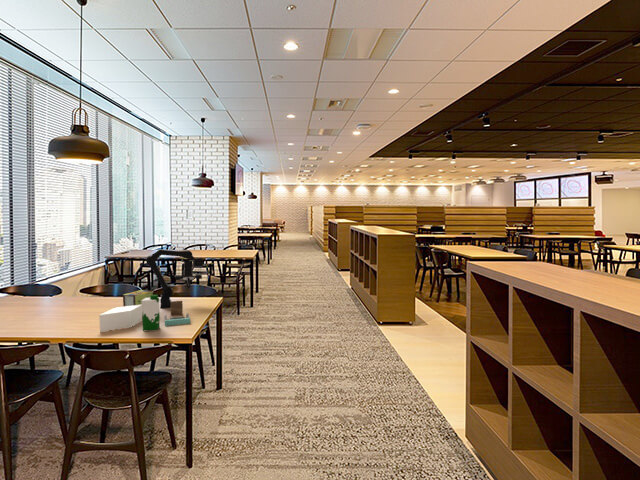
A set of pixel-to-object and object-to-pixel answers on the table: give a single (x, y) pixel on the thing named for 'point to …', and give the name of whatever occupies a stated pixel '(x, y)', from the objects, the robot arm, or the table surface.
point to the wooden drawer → (176, 310)
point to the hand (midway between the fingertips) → (188, 288)
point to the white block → (120, 317)
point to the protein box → (135, 297)
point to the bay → (177, 321)
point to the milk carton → (150, 313)
